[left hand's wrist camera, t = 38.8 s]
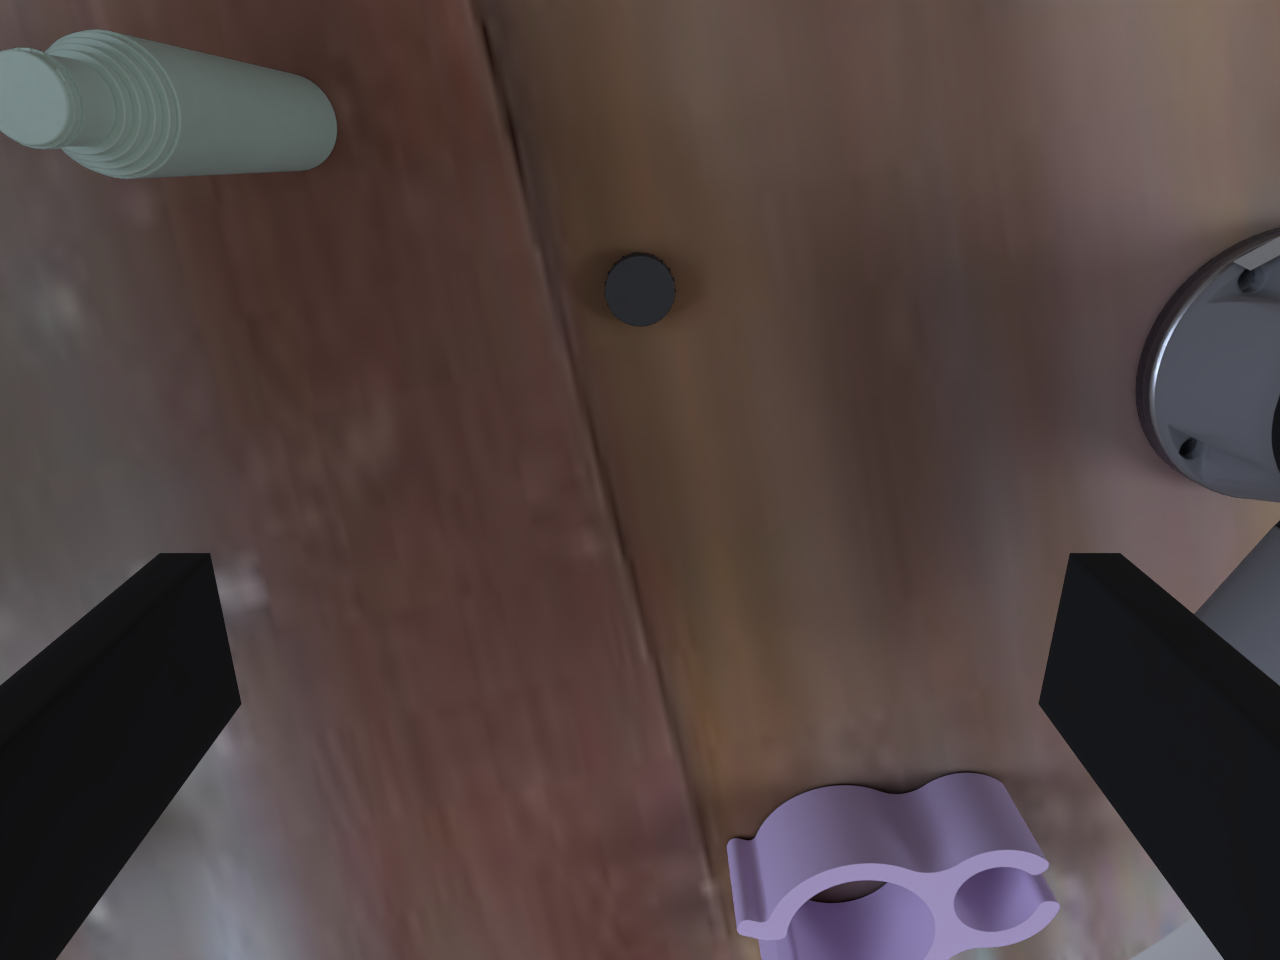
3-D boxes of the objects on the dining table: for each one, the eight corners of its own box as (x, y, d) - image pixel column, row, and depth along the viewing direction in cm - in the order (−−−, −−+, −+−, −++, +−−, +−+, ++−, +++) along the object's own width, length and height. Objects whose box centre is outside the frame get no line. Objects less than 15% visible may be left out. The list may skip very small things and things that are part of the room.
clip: (990, 738, 57) (1035, 812, 51) (1026, 867, 61) (1071, 951, 55) (713, 818, 60) (722, 899, 53) (766, 938, 64) (780, 1026, 57)
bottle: (282, 187, 44) (18, 211, 26) (228, 102, 43) (-96, 60, 24) (355, 143, 44) (138, 134, 25) (302, 55, 42) (28, -26, 23)
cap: (684, 308, 47) (685, 313, 45) (619, 332, 47) (619, 337, 46) (661, 241, 45) (661, 244, 44) (595, 266, 46) (593, 270, 44)
